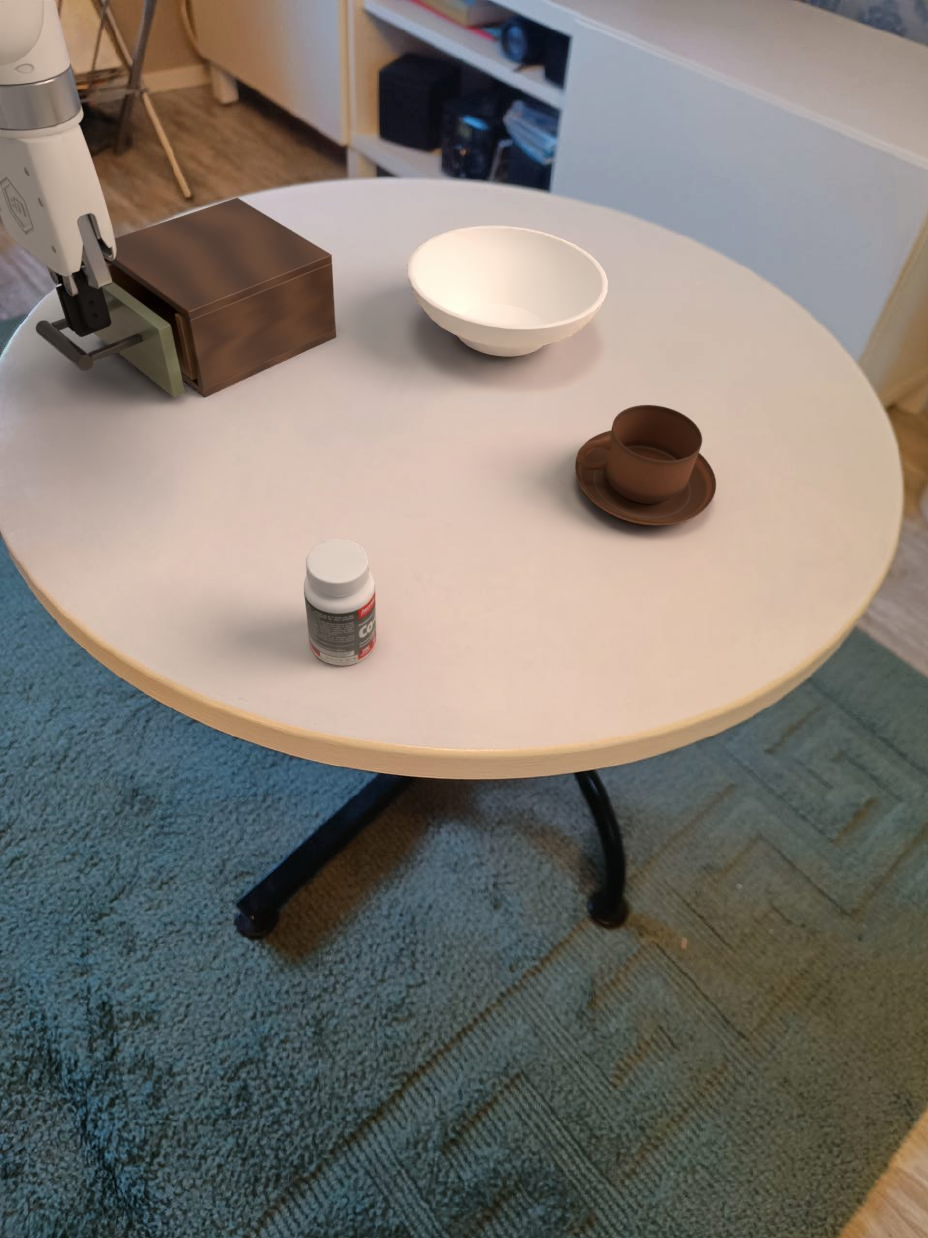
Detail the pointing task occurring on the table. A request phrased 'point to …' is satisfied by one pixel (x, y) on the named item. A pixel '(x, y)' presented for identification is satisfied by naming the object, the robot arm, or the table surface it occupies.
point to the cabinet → (235, 288)
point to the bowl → (506, 287)
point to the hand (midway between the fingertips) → (90, 327)
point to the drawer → (134, 334)
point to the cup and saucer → (647, 467)
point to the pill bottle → (340, 602)
